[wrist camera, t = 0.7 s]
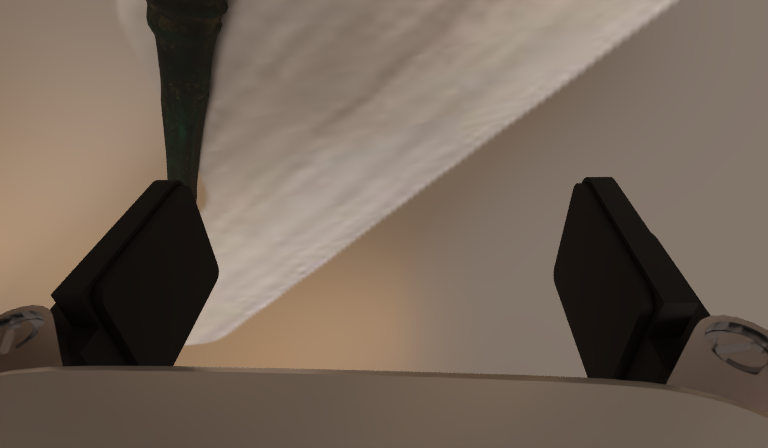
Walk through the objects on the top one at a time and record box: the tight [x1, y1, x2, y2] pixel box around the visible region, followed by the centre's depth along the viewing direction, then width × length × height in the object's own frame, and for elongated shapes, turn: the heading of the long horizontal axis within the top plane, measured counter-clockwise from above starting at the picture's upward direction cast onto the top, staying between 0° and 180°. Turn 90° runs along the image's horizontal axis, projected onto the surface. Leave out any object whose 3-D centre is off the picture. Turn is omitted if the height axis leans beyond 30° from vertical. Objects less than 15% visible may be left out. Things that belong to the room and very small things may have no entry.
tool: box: [146, 0, 228, 201], centre depth 38 cm, size 28×6×7 cm, turn 157°
